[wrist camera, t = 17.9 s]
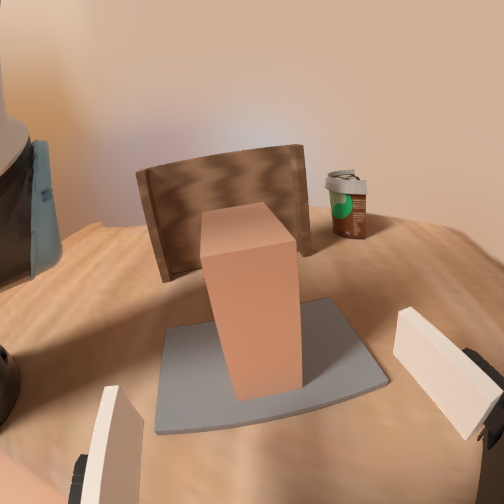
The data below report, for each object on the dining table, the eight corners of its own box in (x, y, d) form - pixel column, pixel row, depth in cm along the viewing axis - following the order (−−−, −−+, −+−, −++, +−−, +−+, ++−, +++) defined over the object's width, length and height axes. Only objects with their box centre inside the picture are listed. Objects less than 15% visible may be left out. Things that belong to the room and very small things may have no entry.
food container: (325, 219, 55) (322, 170, 51) (355, 218, 54) (353, 169, 50) (329, 244, 44) (326, 182, 40) (366, 242, 43) (366, 181, 39)
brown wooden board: (162, 282, 40) (135, 172, 33) (165, 271, 43) (141, 169, 36) (311, 255, 42) (303, 145, 35) (303, 246, 45) (295, 144, 38)
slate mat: (157, 434, 17) (154, 431, 17) (167, 332, 29) (166, 328, 29) (387, 385, 19) (388, 380, 18) (330, 301, 30) (330, 296, 30)
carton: (237, 401, 19) (200, 257, 14) (226, 330, 27) (202, 212, 22) (302, 388, 20) (295, 240, 15) (276, 320, 28) (263, 202, 23)
